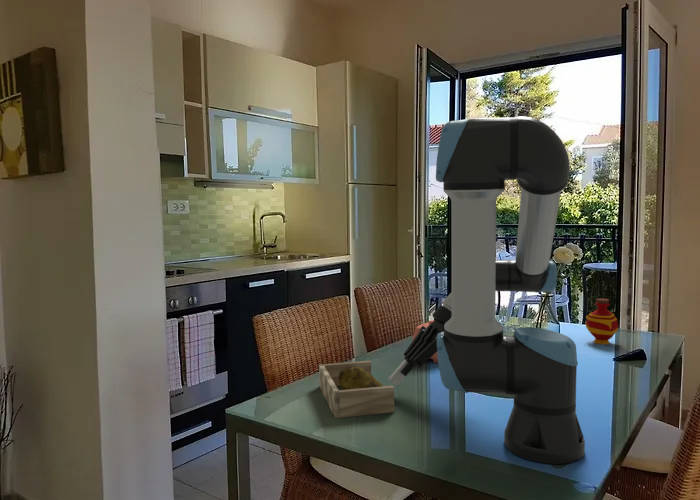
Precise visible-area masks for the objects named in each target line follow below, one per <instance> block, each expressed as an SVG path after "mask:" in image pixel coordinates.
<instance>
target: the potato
mask: <svg viewBox="0 0 700 500" xmlns="http://www.w3.org/2000/svg"><path fill="white" fill-rule="evenodd" d="M339 384H340V386H339V387H341V390H349V389H360V388H371V387H382V386H384V385H383V384H382V383H381V382H380V381H379V380H378V379H376V378H375V377H374V375H372V373H371V374H369V373H368V372H366V371H364V370H363V369H362V368H360V367H356V366H349V367H347V368H345V369H343V370H342V371H341V372H340V374H339Z"/></svg>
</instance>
